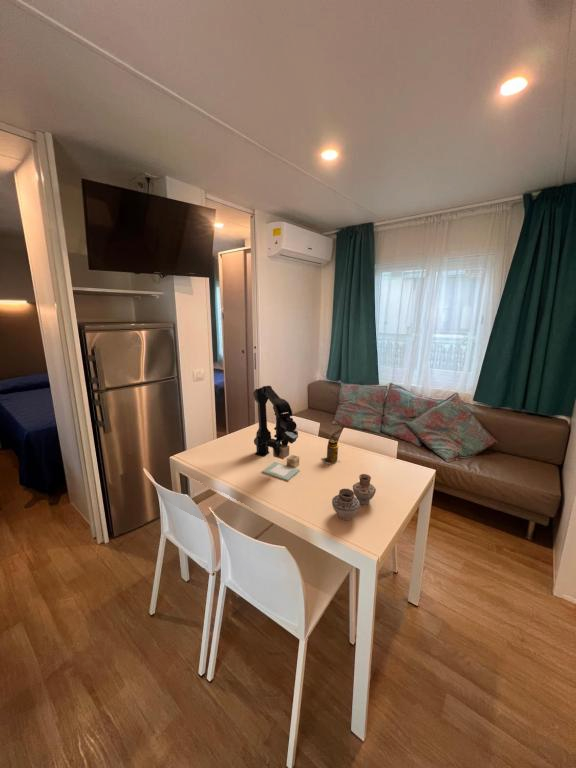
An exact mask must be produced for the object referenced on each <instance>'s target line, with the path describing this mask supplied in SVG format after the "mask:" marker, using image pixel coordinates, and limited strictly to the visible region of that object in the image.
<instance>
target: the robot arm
mask: <svg viewBox="0 0 576 768" xmlns="http://www.w3.org/2000/svg"><path fill="white" fill-rule="evenodd" d="M253 397H254V398H253V399H254V401H255V402H256V404H257V418H258V430H256V436H255V438H254V439H253V443H254V445H255V446H256V451H255V452H254V455H257V456H260V457H266V456H267V455H268V454H270V450H269V448H272V450H274V451H275V453H276V455H277V456H279V452H280V447H281V446H282V445H281V444H284V445H287V446H289V444H290V445H291V444H294V443H295V442H296V441H297V438H299V432H298V430H296V429H297V423H296V422H295V421H294V418H293V410H292V408H291V405H290V404H289V401H287V400H286V399H283V398H282V397H280V396H279V395H278V394H277V393H276V391H275V390H274V389H273V388H272V386H271V385H263V386H261V387H259V388H256V389H254V390H253ZM268 401H269V402H270V403H271V404H272V410H273V411H274V416H275V426H274V428H273V429H274V431H275V434H274V435H273V438H272V432H271V431H270V430H269V429H268V421H267V420H268V418H267V417H268V416H267V402H268Z"/></svg>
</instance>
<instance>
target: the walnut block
mask: <svg viewBox="0 0 576 768" xmlns="http://www.w3.org/2000/svg"><path fill="white" fill-rule="evenodd" d="M281 445H282V446H281V447H280V452H279V456H277V455H276V453H275V451H274V450H273V449H272V450H273V451H272V453H273V454H272V455H273V457H274V458H278V459H281V460H284V459H287V458H288V457H289V456H290V446H289V445H284V444H282V443H281Z"/></svg>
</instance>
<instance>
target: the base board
mask: <svg viewBox="0 0 576 768" xmlns="http://www.w3.org/2000/svg"><path fill="white" fill-rule="evenodd" d="M299 472H301V469H299V468H297V467H296V468H293V467H290V466H287V464H283V463H280V462H276V461H273V462H272V463H271V464H269V466H267V467H266V468H264V469H262V471H261V473H263V474H265V475H269V476H272V477H275V478H277V479H280V480H283V481H286V482H290V480H291V479H292V478H294V477H295V476H297V474H298V473H299Z"/></svg>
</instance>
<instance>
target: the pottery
mask: <svg viewBox="0 0 576 768" xmlns="http://www.w3.org/2000/svg"><path fill="white" fill-rule="evenodd" d="M358 478H359V481H358V482H355V483H354V484H353V485H352V489H350V488H341V489H340V490H339V491H338V494H337V495H335V496H333V498H332V500H331V504H332V508H333V510H334V512H335V513H336V514H337V515H338V518H340V519H341V520H343V521H348V520H351V519H352V518H353V517H354V516H355V515H356V514H357V513H358V512H359V510H360V507H361V505H368V504H370V501H371V500H372V499H374V498H373V497H375V494H376V491H377V489H376V487H375V486H374V484H371V479H372V477H371V475H369V474H367V473H361V474H359V476H358Z"/></svg>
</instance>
